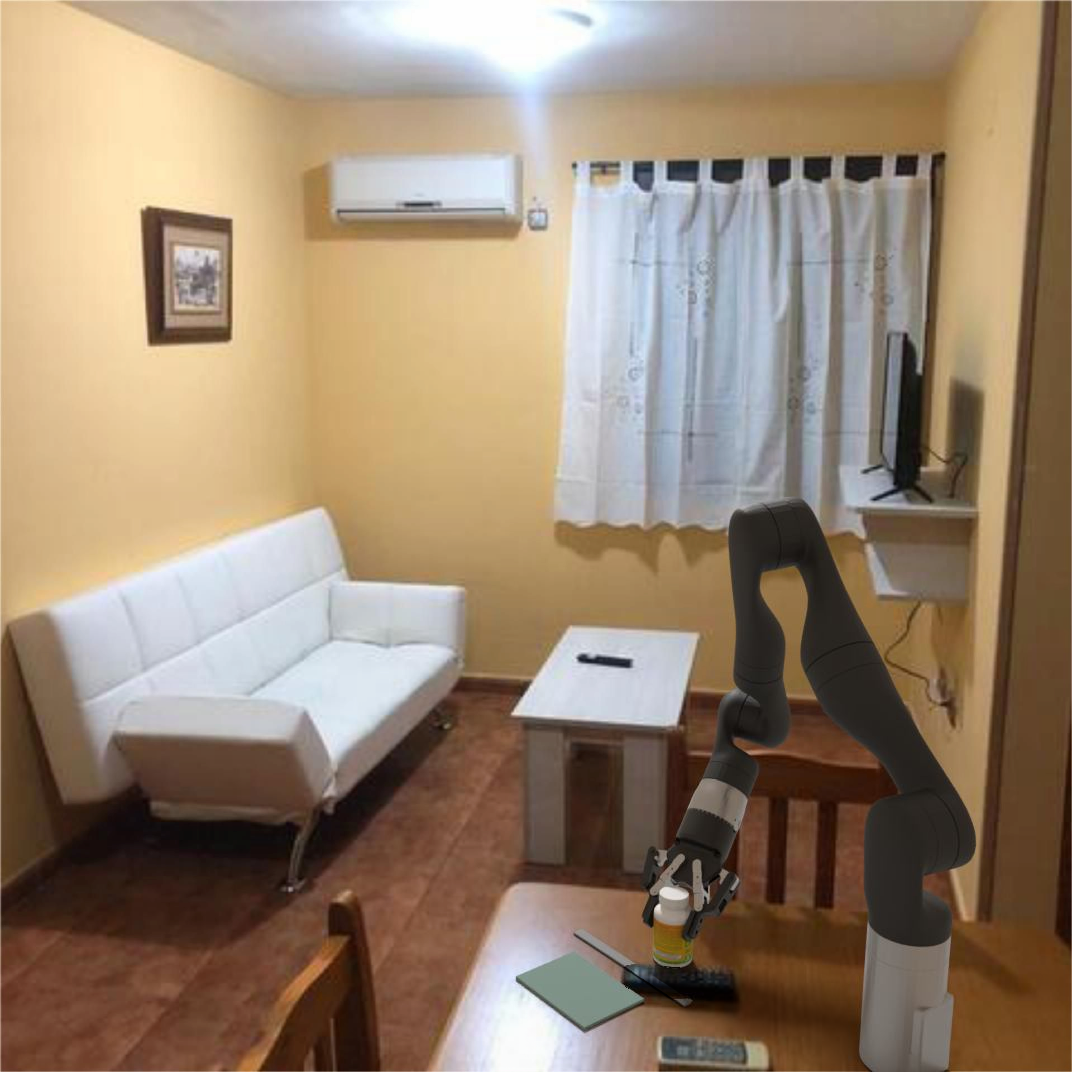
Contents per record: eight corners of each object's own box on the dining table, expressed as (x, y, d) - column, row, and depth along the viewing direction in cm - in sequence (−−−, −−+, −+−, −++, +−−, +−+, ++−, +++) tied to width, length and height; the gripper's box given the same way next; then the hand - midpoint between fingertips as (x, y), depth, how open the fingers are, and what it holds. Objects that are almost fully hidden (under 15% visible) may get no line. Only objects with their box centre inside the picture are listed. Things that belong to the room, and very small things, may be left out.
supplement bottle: (690, 971, 155) (693, 904, 153) (650, 966, 156) (652, 900, 155) (693, 950, 161) (695, 885, 159) (654, 945, 162) (656, 881, 160)
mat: (643, 1001, 149) (643, 998, 148) (584, 1030, 143) (584, 1027, 142) (573, 954, 159) (574, 951, 159) (515, 979, 153) (515, 976, 153)
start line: (692, 1002, 148) (692, 1000, 148) (684, 1007, 147) (684, 1004, 147) (581, 930, 165) (581, 928, 165) (573, 934, 164) (573, 932, 164)
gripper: (659, 794, 165) (611, 905, 158) (751, 821, 156) (704, 940, 149) (677, 817, 170) (631, 925, 163) (766, 844, 162) (722, 960, 154)
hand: (666, 932), depth 156 cm, fingers closed on supplement bottle, 5 cm apart
